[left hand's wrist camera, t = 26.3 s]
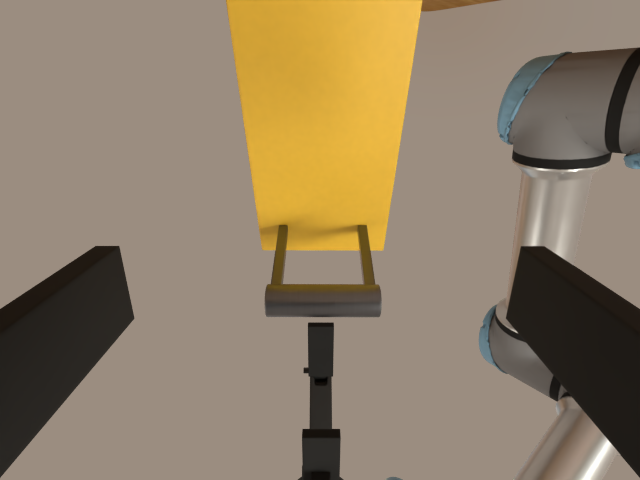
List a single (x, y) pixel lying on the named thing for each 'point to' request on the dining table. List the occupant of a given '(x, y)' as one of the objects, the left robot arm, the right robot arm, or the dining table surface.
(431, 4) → the dining table surface
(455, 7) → the dining table surface
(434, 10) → the dining table surface
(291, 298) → the lid
